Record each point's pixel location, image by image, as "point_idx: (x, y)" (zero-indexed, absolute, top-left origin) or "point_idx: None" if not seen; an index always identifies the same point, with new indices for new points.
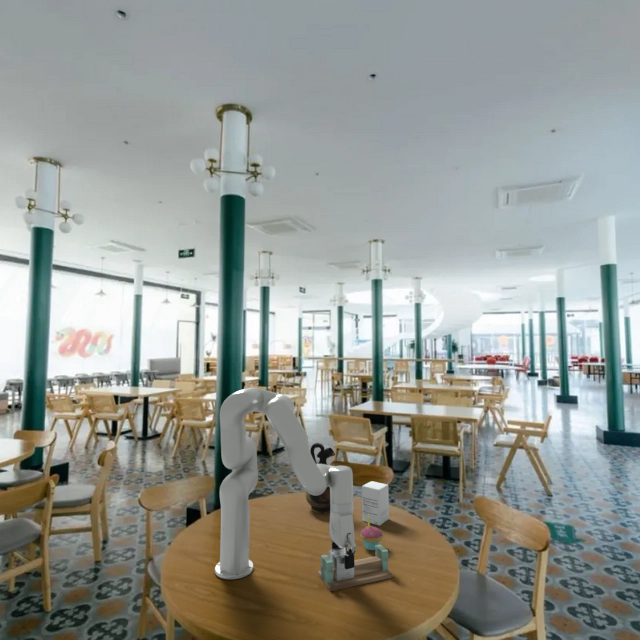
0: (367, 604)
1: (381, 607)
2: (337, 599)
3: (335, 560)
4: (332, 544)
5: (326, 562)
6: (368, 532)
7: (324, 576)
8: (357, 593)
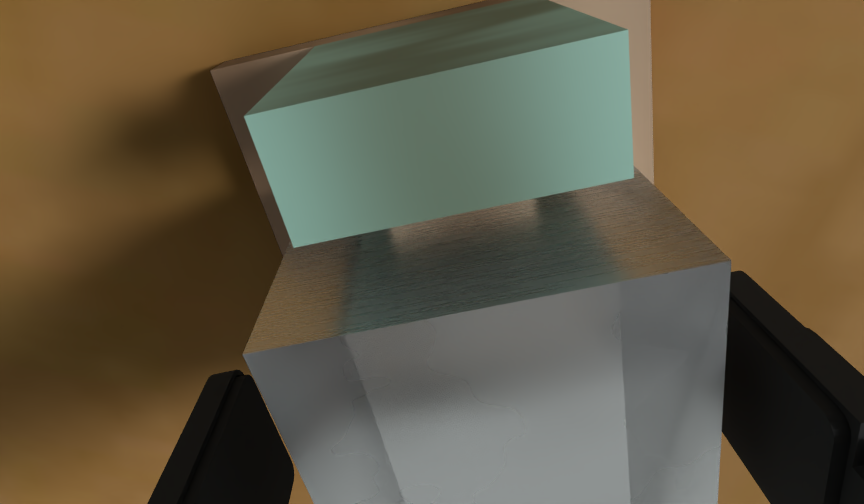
0: (27, 364)
1: (5, 443)
2: (66, 118)
3: (328, 303)
4: (835, 398)
5: (271, 107)
6: None
7: (400, 32)
8: (198, 325)
